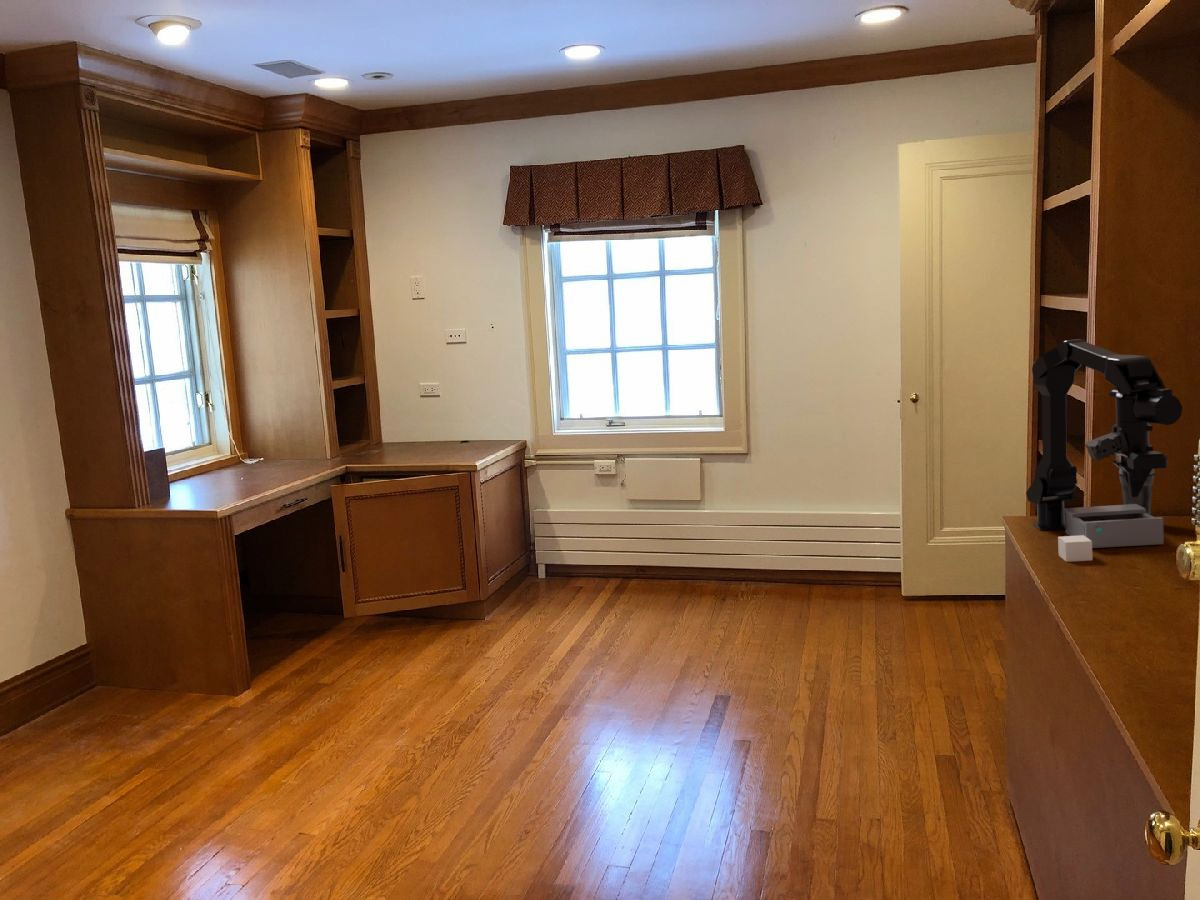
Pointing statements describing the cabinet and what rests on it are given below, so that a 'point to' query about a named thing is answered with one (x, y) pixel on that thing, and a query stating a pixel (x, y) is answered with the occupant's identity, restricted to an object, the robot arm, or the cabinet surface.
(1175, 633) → the cabinet surface
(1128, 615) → the cabinet surface
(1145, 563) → the cabinet surface
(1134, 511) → the housing
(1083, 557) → the block
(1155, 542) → the tray
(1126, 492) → the beverage cup
